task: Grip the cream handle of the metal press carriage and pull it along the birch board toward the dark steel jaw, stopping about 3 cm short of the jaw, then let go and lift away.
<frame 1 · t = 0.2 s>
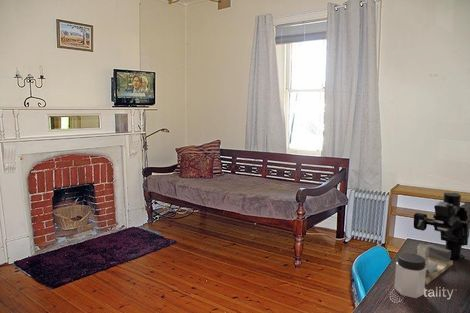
hand: (431, 231, 130), 17 cm above the table, tool horizontal, fingers open, 9 cm apart
press carriage: (422, 256, 132), point 6 cm above the table, slide at 0.0 cm
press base: (426, 269, 136), on the table
jar: (408, 292, 120), on the table
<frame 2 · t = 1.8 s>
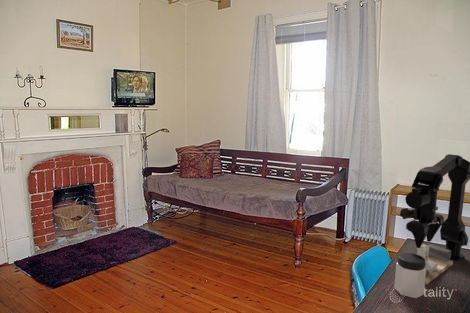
hand: (423, 244, 131), 11 cm above the table, tool pointing down, fingers open, 9 cm apart
nothing on the table moved.
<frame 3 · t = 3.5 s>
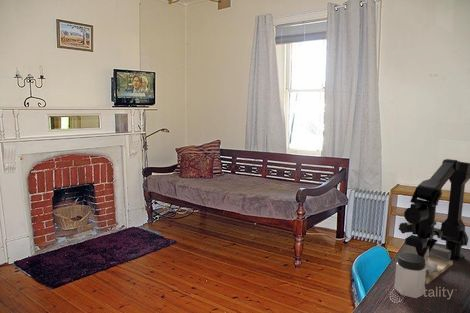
hand: (422, 259, 132), 6 cm above the table, tool pointing down, fingers closed on press carriage, 3 cm apart
press carriage: (422, 256, 132), point 6 cm above the table, slide at 0.0 cm, touching gripper
everything else where it was.
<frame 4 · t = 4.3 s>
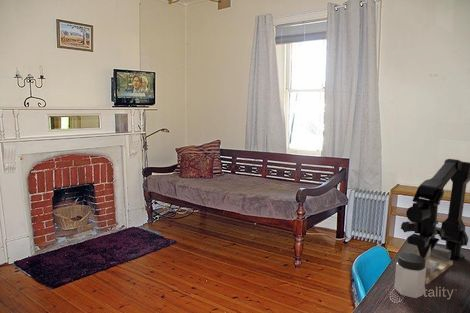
hand: (424, 257, 133), 5 cm above the table, tool pointing down, fingers closed on press carriage, 3 cm apart
press carriage: (424, 255, 133), point 6 cm above the table, slide at 1.7 cm, touching gripper
everything else where it was.
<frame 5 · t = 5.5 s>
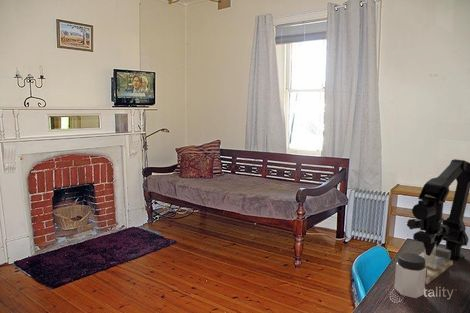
hand: (429, 254, 137), 5 cm above the table, tool pointing down, fingers closed on press carriage, 3 cm apart
press carriage: (430, 252, 137), point 6 cm above the table, slide at 6.9 cm, touching gripper
everything else where it was.
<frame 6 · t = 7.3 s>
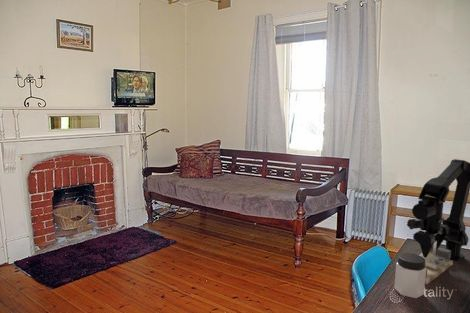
hand: (429, 254, 137), 5 cm above the table, tool pointing down, fingers open, 9 cm apart
press carriage: (430, 252, 137), point 6 cm above the table, slide at 7.0 cm
everything else where it was.
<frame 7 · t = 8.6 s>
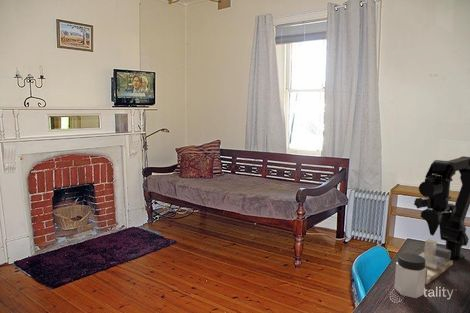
hand: (436, 232, 139), 13 cm above the table, tool pointing down, fingers open, 9 cm apart
nothing on the table moved.
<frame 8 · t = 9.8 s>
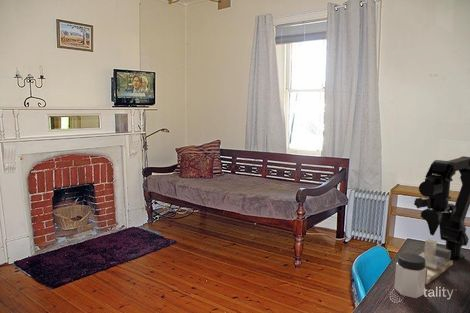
hand: (436, 232, 139), 13 cm above the table, tool pointing down, fingers open, 9 cm apart
nothing on the table moved.
at the end: press carriage slide at 7.0 cm; the gripper is holding nothing; jar moved 0.2 cm from its start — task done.
